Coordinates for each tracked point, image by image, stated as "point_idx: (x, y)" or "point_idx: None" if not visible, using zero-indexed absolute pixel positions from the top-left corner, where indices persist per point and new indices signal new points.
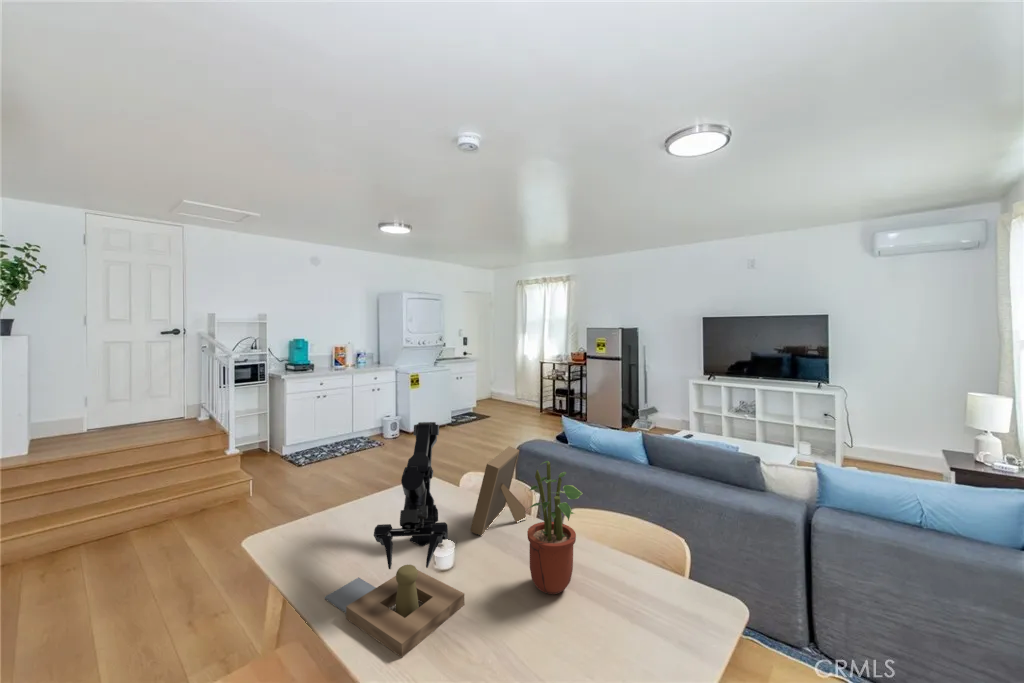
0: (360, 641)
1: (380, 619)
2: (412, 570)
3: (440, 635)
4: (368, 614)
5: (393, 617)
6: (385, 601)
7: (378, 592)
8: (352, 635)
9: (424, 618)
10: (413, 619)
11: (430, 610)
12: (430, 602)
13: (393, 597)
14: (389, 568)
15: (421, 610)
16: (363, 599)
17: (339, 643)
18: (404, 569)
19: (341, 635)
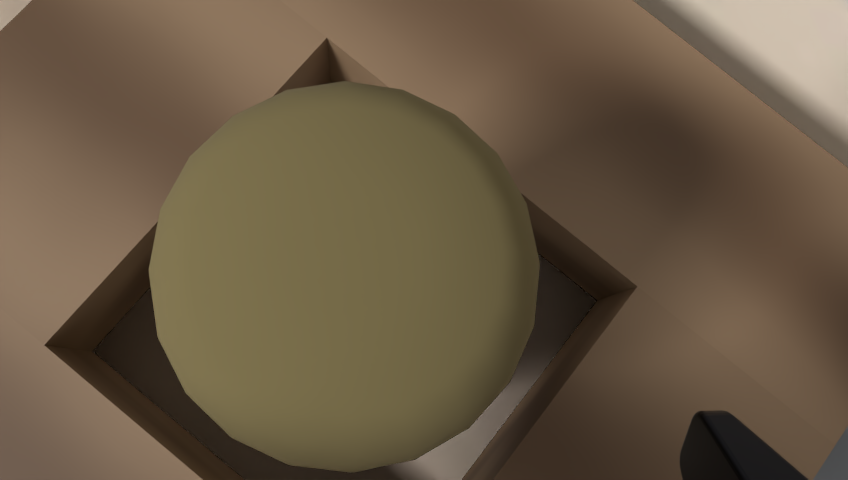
0: (662, 11)
1: (561, 39)
2: (222, 188)
3: (12, 7)
4: (698, 119)
5: (441, 55)
6: (586, 344)
7: None
8: (747, 78)
9: (124, 13)
10: (235, 8)
11: (66, 118)
12: (72, 247)
13: (518, 433)
14: (704, 414)
15: (165, 128)
16: (828, 354)
17: (813, 8)
18: (389, 209)
19: (832, 86)
